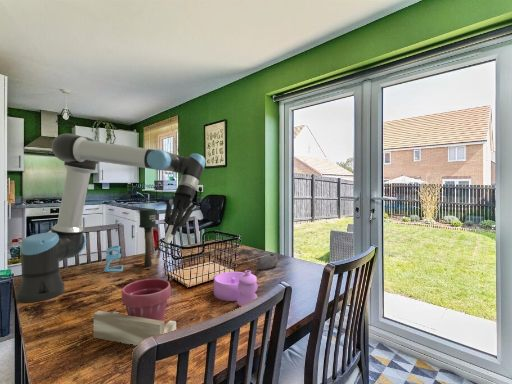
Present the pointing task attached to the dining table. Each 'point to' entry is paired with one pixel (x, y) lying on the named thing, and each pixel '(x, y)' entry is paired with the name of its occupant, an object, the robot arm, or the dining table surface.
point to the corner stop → (128, 327)
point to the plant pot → (146, 298)
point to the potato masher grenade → (147, 231)
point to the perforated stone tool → (268, 261)
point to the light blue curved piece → (113, 257)
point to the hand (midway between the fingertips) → (166, 242)
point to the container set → (236, 287)
